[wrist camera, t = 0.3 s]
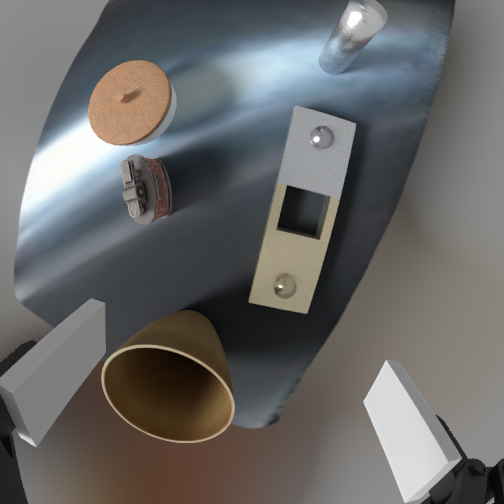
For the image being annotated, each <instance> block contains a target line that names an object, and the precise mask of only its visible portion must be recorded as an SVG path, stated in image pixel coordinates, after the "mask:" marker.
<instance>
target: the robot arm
mask: <svg viewBox="0 0 504 504" xmlns="http://www.w3.org/2000/svg"><path fill="white" fill-rule="evenodd" d="M105 353H106V344H105V303H103V302H100V301H97V300H94V299H90V300H88V301H87V302H86V303H85V304H83V305H82V306H81V307H80V308H78V309H77V310H76V311H75V312H74V313H72V314H71V315H70V316H69V317H68V318H66V319H65V320H64V321H63V322H62V323H60V324H59V325H58V326H57V327H56V328H55V329H53V330H52V331H51V332H50V333H49V334H48V335H47V336H45V337H44V338H43V339H42V340H41V341H40V342H39V343H37V342H35V341H33V340H31V341H29V342H26V343H24V344H21V345H20V346H19V347H18V348H17V349H15V350H14V352H13V353H11V354H10V355H9V356H8V357H7V358H5V359H4V360H3V361H2V362H1V363H0V504H28V502H27V498H26V495H25V491H24V488H23V484H22V480H21V476H20V471H19V467H18V462H17V457H16V451H15V446H14V439H13V436H12V433H11V432H12V431H13V430H14V428H16V429H17V432H18V433H19V435H20V437H21V438H23V439H24V440H26V441H27V442H29V443H30V444H32V445H34V446H35V447H37V446H38V444H39V443H40V441H41V440H42V438H43V437H44V435H45V434H46V433H47V431H48V430H49V428H50V427H51V425H52V424H53V423H54V421H55V420H56V418H57V417H58V415H59V414H60V413H61V411H62V410H63V408H64V407H65V405H66V404H67V403H68V402H69V400H70V399H71V398H72V396H73V395H74V393H75V392H76V391H77V389H78V388H79V387H80V385H81V384H82V382H83V381H84V380H85V379H86V377H87V376H88V374H89V373H90V372H91V371H92V369H93V368H94V367H95V366H96V364H97V363H98V362H99V360H100V359H101V358H102V357H103V355H104V354H105ZM364 404H365V407H366V409H367V411H368V414H369V416H370V418H371V421H372V423H373V425H374V427H375V430H376V432H377V435H378V437H379V440H380V442H381V444H382V447H383V449H384V452H385V454H386V457H387V459H388V461H389V464H390V467H391V469H392V471H393V474H394V476H395V479H396V482H397V484H398V487H399V490H400V492H401V495H402V497H403V500H404V502H405V503H407V502H411V501H414V500H418V499H420V498H421V497H422V496H423V495H424V494H426V493H427V492H428V491H429V494H430V496H429V497H428V498H427V499H426V500H425V501H423V502H422V503H421V504H486V503H487V502H488V501H490V500H491V499H492V498H493V497H494V501H495V502H494V503H493V504H504V459H501V460H500V461H499V462H498V463H497V464H496V465H495V466H494V467H486V466H485V465H484V464H483V463H482V462H481V461H480V460H478V459H468V458H467V456H466V455H465V453H464V452H463V450H462V449H461V447H460V445H459V443H458V442H457V440H456V439H455V437H453V434H452V433H451V431H449V428H448V426H447V425H446V423H445V422H444V421H443V420H442V419H441V418H440V417H439V416H437V415H435V414H434V412H433V411H432V409H431V408H430V406H429V405H428V403H427V402H426V401H425V399H424V397H423V396H422V394H421V393H420V391H419V390H418V388H417V387H416V386H415V384H414V383H413V381H412V380H411V378H410V377H409V375H408V374H407V372H406V371H405V370H404V368H403V367H402V365H401V364H400V363H399V362H398V361H393V360H386V361H385V363H384V365H383V367H382V369H381V371H380V373H379V375H378V377H377V378H376V380H375V382H374V384H373V386H372V388H371V389H370V391H369V393H368V395H367V397H366V398H365V400H364Z"/></svg>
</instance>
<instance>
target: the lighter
mask: <svg viewBox="0 0 504 504" xmlns="http://www.w3.org/2000/svg"><path fill="white" fill-rule="evenodd" d="M121 170H122V176H123V182H124V189H123V198H124V201H125V202H126V203H127V204H128V208H129V213H130V216H131V217H133V219H134V221H135V222H136V223H137V224H139V225H147V224H149V223H151V222H152V221H154V220H155V219H158V218H164V217H166V216H168V215H169V214H171V212H172V190H171V184H170V180H169V176H168V172H167V170H166V167H165V165H164V163H163V161H161V160H159V159H148V158H144V157H143V156H141V155H131V156H129V157H128V158H127V159H126V160H124V161H122V162H121Z"/></svg>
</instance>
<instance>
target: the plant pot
mask: <svg viewBox="0 0 504 504" xmlns="http://www.w3.org/2000/svg"><path fill="white" fill-rule="evenodd" d="M102 386H103V390H104V393H105V395H106V397H107V399H108V401H109V403H110V404H111V406H112V407H113V408H114V409H115V411H116V412H117V413H118V414H119V415H120V416H121V417H122V418H123V419H124V420H125V421H127V422H128V423H129V424H131V425H132V426H133V427H135V428H137V429H138V430H140V431H142V432H144V433H146V434H148V435H151V436H153V437H156V438H159V439H162V440H167V441H172V442H180V443H191V442H200V441H204V440H208V439H211V438H213V437H216V436H217V435H219V434H221V433H222V432H223V431H224V430H225V429H226V428H227V427H228V426H229V425H230V423H231V421H232V419H233V417H234V412H235V403H234V396H233V389H232V383H231V377H230V372H229V367H228V363H227V359H226V356H225V353H224V350H223V347H222V344H221V342H220V339H219V337H218V335H217V333H216V331H215V329H214V327H213V325H212V324H211V322H210V321H209V320H208V318H206V317H205V316H204V315H202V314H201V313H199V312H196V311H192V310H182V311H178V312H175V313H172V314H169V315H167V316H165V317H162V318H160V319H159V320H157V321H155V322H153V323H151V324H150V325H148V326H147V327H145V328H144V329H142V330H141V331H139V332H138V333H137V334H135V335H134V336H133V337H131V338H130V339H129V340H128V341H127V342H125V343H124V344H123V345H122V346H121V347H120V348H119V349H118V350H116V351H115V352H114V353H113V354H112V355H111V356H110V357H109V358H108V360H107V361H106V363H105V364H104V367H103V370H102Z"/></svg>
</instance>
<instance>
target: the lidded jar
mask: <svg viewBox="0 0 504 504" xmlns="http://www.w3.org/2000/svg"><path fill="white" fill-rule="evenodd" d="M176 107H177V99H176V93H175V90H174V87H173V85H172V83H171V81H170V80H169V78H168V76H167V75H166V73H165V72H164V71H163V70H162V69H161V68H160V67H159V66H158V65H156V64H154V63H152V62H149V61H145V60H134V61H129V62H125V63H123V64H120V65H118V66H116V67H115V68H113V69H112V70H110V71H109V72H108V73H107V74H106V75H105V76H104V77H103V78H102V79H101V80H100V81H99V83H98V84H97V86H96V88H95V89H94V91H93V94H92V96H91V99H90V103H89V121H90V124H91V127H92V129H93V131H94V133H95V134H96V135H97V136H98V137H99V138H100V139H101V140H103V141H105V142H107V143H110V144H113V145H121V146H122V145H124V146H138V145H142V144H146V143H149V142H151V141H153V140H155V139H156V138H158V137H159V136H161V135H162V134H163V133H164V132H165V131H166V129H167V128H168V127H169V126H170V124H171V122H172V120H173V118H174V116H175V112H176Z"/></svg>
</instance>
